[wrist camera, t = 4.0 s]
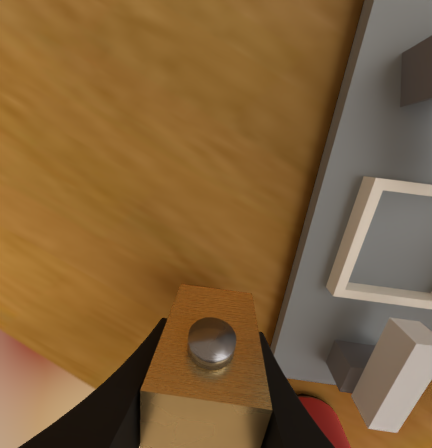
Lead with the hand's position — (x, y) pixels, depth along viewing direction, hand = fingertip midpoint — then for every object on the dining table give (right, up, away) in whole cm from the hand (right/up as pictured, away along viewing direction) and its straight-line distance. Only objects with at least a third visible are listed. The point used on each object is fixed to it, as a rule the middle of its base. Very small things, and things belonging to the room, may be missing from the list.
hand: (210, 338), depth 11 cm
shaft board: (+12, +6, +2) cm, 14 cm away
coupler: (0, +1, +1) cm, 2 cm away
